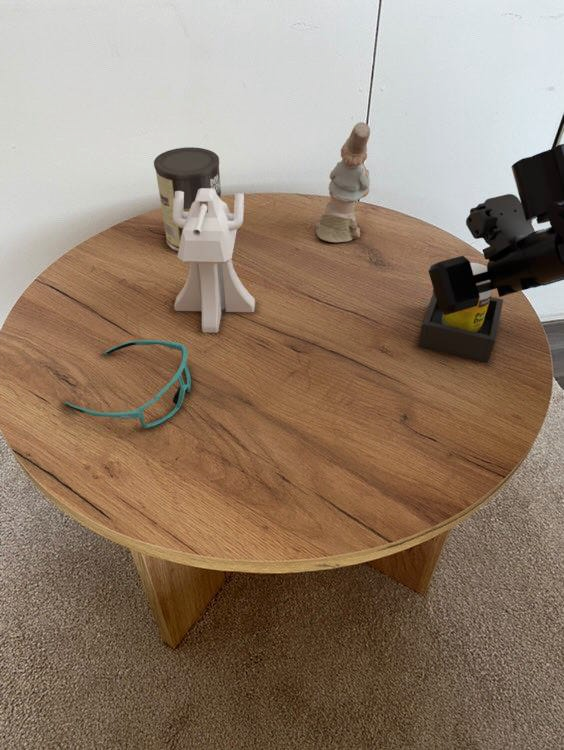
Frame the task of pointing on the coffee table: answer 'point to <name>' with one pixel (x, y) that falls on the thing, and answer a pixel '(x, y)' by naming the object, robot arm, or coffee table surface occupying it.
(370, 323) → the coffee table surface
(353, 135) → the figurine
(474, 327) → the supplement bottle
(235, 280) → the toy gun turret
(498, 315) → the dark square open box
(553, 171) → the robot arm
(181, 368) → the sunglasses
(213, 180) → the coffee can
